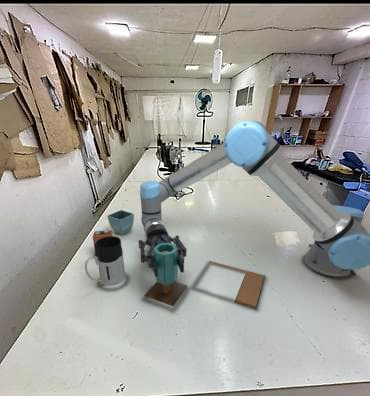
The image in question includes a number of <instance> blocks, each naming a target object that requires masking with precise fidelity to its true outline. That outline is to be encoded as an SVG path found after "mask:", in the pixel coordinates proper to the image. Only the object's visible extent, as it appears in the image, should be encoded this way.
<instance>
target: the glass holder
mask: <svg viewBox="0 0 370 396" xmlns="http://www.w3.org/2000/svg"><path fill="white" fill-rule="evenodd" d="M96 250H97V256H93V255H92V256H89V257H88V258H87V259H86V260H85V262H84V272H85V274H86V276H87V277H88V278H89V279H90V280H91V281H94V282H99V285H100V286H102V285H105V286H116V285H119V284H121V283H123V282H124V281H125V279H126V269H125V260H124V259H125V258H124V251H123V246H122V239H121V238H120V237H118V236H114V235H113V236H109V237H104V238H101V239H99V240H98V241H97V242H96ZM92 259H94V261H95V264H96V265H97V266H98V270H99V278H100V279H95V278H93V277H92V276H91V275H90V273H89V271H88V264H89V262H90V260H92Z"/></svg>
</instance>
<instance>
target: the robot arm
mask: <svg viewBox="0 0 370 396" xmlns="http://www.w3.org/2000/svg"><path fill="white" fill-rule="evenodd" d="M282 148H283V147H282V145H281V144H280V143H279V142H278V141H277V140H276V139H275V138H274V137H273V136H272V135H271V134H270V133H269V130H268V129H267V127H266V126H265V125H264V124H263V123H262V122H260V121H257V120H243V121H240V122H238V123H237V124H235V125H234V126H233V127H232V128H231V129H230V130H229V131H228V133H227V135H226V137H225V138H224V139H223V142H222V144H220V145H218V146H216V147H214V148H213V149H212V150H210V151H208V152H207V153H204V154H203V155H202V156H200V157H198V158H196V159H195V160H193V161H191V162H190V163H189V164H186V165H185V166H184V167H181V168H179V170H177V171H175V172H173V173H171V174H170V175H168V176H167V177H165V178H163V179H162V180H160V181H159V182H158V181H154V180H153V181H152V180H148V181H144V182H142V183H141V184H140V186H139V188H140V190H139V196H140V206H141V219H140V220H141V225H142V227H143V230H144V234H145V238H146V239H145V240H142V239H138V248H139V251H140V252H139V253H140V255H139V256H140V262H141V263H142V264H145V263H146V264H147V266H148V268H149V269H152V271H153V274H154V278H155V277H158V269H157V265H156V261H155V258H154V247H155V246H157V245H158V244H161V243H171V244H174V245H176V247H177V249H178V269H179V271H180V273H184V272H185V258H186V257H187V252H188V251H187V248H186V246H185V245H184V243H183V241H181V240H180V236H179V235H175V236H174V237H171V235H169V233H168V230H167V228H166V226H165V224H164V222H163V219H162V203H163V202H164V201H166V200H167V199H169V198H171V197H173V196H174V195H175V194H178V193H179V192H181V191H183V190H184V189H186V188H188V187H190V186H193V184H196V183H198V182H200V181H201V180H203V179H205V178H207V177H208V176H210V175H213V174H214V173H216V172H218V171H220V170H222V169H223V168H226V167H227V166H229V165H231V164H233V165H234V166H237V167H240V168H242V169H243V170H244V171H245V172H246V173H247V174H248V175H249V176H250V177H259V179H261V180H262V181H263V183H265V185H266V186H268V187H269V188H270V190H271V191H273V193H275V195H277V196H278V198H280V199H281V201H282V202H284V203H285V205H286V206H287V207H288V208H290V210H292V212H293V213H295V215H296V216H298V217H299V218H300V219H301V220H302V222H304V224H305V225H307V226H308V228H310V229H311V230H312V231H313V233H312V238H313V240H314V241H313V243H312V244H311V243H308V246H307V247H308V248H309V249H308V250H307V252H306V254H305V255H304V264H305V265H306V266H307V267H308V268H309V269H310V270H312V271H313V272H315V273H317V274H320V275H322V276H325V277H329V278H334V279H335V278H336V279H341V278H346V277H349V276H350V275H351V274H352V276H354V277H356V276H357V274H356V273H355V270H356V271H357V270H360V269H361V270H362V269H364V268H366V267H368V266H370V233H369V232H368V230H367V229H366V228H365V226H364V225H363V224H362V223H363V220H364V219H365V218H364V216H365V212H363V210H361V209H358V208H355V207H350V206H345V205H334V204H331V202H329V200H328V199H326V198H325V196H323V194H321V193H320V192H319V190H318V189H317V188H315V186H313V184H311V183H310V181H308V179H306V177H305V176H304V175H302V173H301V172H299V170H297V168H295V167H294V165H292V163H291V162H290V161H289V160H287V158H286V157H284V155H282ZM147 246H148V247H149V249H148V251H147V253H146V247H147Z"/></svg>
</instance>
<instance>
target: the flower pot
mask: <svg viewBox="0 0 370 396" xmlns="http://www.w3.org/2000/svg"><path fill="white" fill-rule="evenodd" d="M106 217H107V220H108V224H109V226H110V228H111V229H112V231H113V232H115V234H118V235H122V236H123V235H125V234H127V233H129V232H130V231H131V230H132V229H133V227H134V222H135V221H134V220H135V213H134V212H133V213H132V212H129V211H126V210H123V209H120V210H117V211H115V212H113V213H110V214H108V215H107V216H106Z"/></svg>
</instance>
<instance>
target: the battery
mask: <svg viewBox="0 0 370 396" xmlns="http://www.w3.org/2000/svg"><path fill="white" fill-rule="evenodd" d="M109 236H114V234H113V230H110V229H103V230H95V231H94V232H93V234H92V241H93V247H94V253H95V257H98V256H97V250H96V242H97V241H98V240H99V239H101V238H104V237H109Z"/></svg>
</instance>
